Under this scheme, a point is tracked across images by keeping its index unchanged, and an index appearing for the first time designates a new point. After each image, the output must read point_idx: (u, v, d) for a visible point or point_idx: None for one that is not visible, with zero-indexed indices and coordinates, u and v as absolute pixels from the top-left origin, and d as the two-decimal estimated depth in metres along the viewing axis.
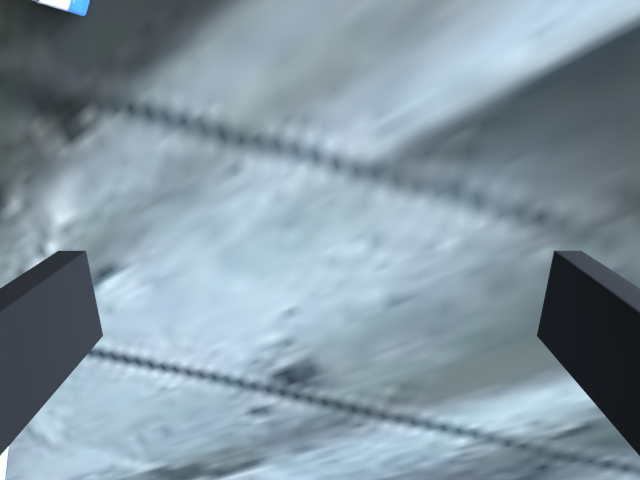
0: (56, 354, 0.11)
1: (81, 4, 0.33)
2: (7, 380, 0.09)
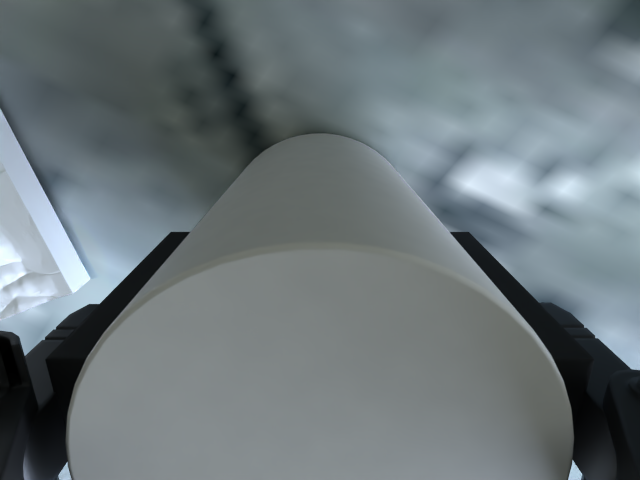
0: None
1: None
2: None
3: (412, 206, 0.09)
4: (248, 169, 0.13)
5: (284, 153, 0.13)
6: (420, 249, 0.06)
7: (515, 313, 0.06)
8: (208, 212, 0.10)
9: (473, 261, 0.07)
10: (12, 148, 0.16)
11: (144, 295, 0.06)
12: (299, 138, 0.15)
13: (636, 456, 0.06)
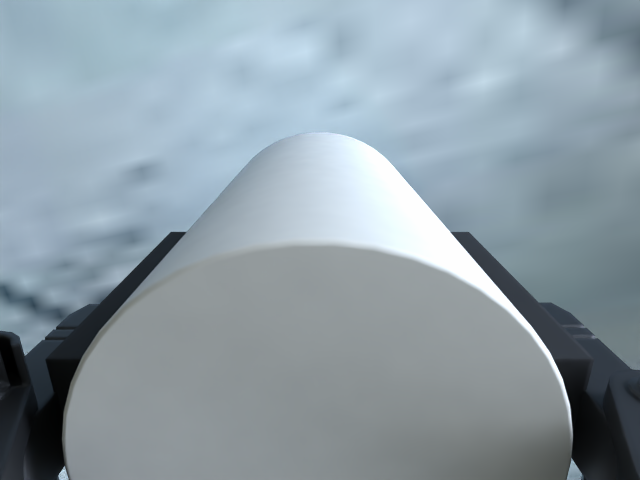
0: None
1: None
2: None
3: (410, 204, 0.08)
4: (247, 168, 0.13)
5: (283, 151, 0.13)
6: (418, 246, 0.06)
7: (513, 310, 0.06)
8: (206, 210, 0.10)
9: (471, 259, 0.07)
10: None
11: (140, 292, 0.06)
12: (298, 137, 0.15)
13: (636, 456, 0.06)
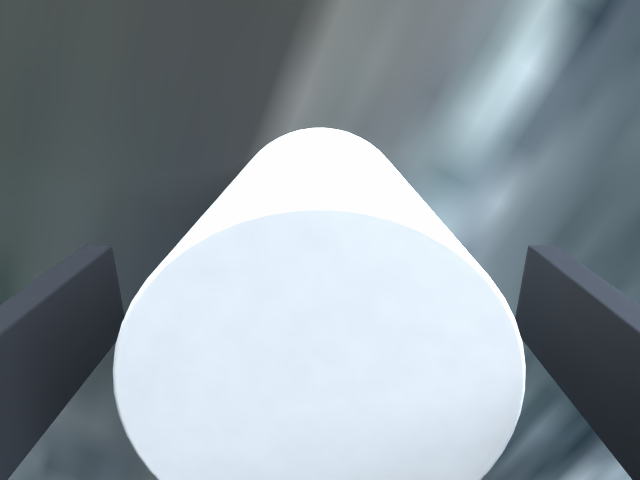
0: (86, 344, 0.11)
1: None
2: (44, 368, 0.09)
3: (398, 185, 0.10)
4: (255, 159, 0.15)
5: (287, 144, 0.14)
6: (399, 212, 0.07)
7: (474, 262, 0.07)
8: (222, 193, 0.11)
9: (447, 229, 0.09)
10: None
11: (180, 248, 0.07)
12: (301, 132, 0.17)
13: None
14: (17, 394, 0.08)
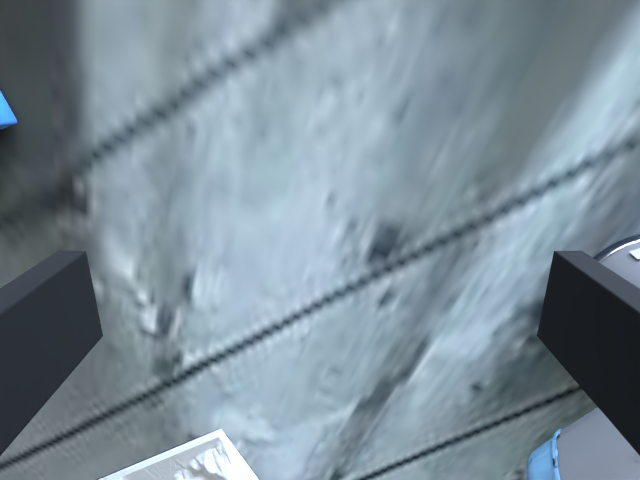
0: (56, 354, 0.10)
1: (6, 114, 0.41)
2: (7, 380, 0.09)
3: None
4: None
5: None
6: None
7: None
8: None
9: None
10: (181, 447, 0.56)
11: None
12: None
13: None
14: None
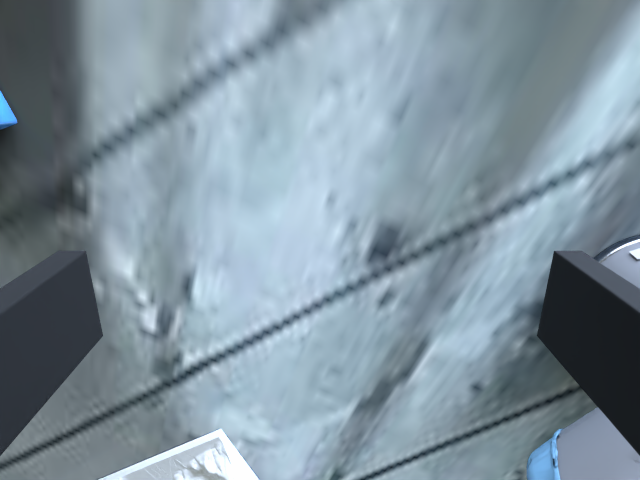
0: (56, 354, 0.10)
1: (6, 114, 0.41)
2: (7, 380, 0.09)
3: None
4: None
5: None
6: None
7: None
8: None
9: None
10: (181, 447, 0.56)
11: None
12: None
13: None
14: None
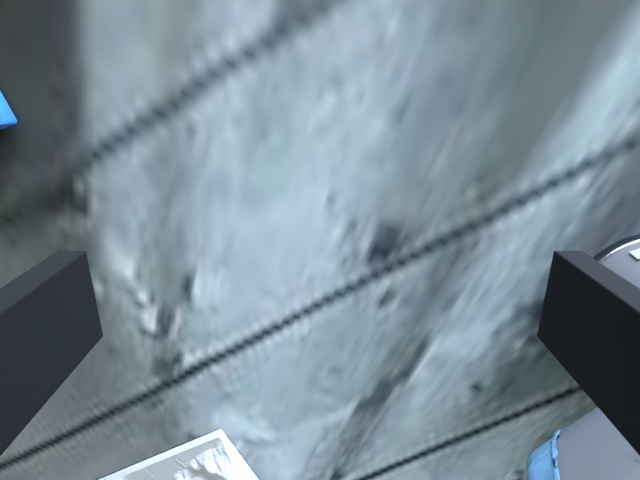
0: (56, 354, 0.10)
1: (6, 114, 0.41)
2: (7, 380, 0.09)
3: None
4: None
5: None
6: None
7: None
8: None
9: None
10: (181, 447, 0.56)
11: None
12: None
13: None
14: None
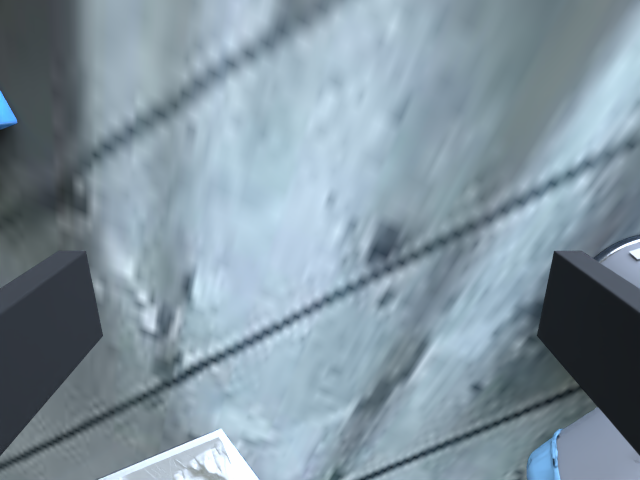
0: (56, 354, 0.10)
1: (6, 114, 0.41)
2: (7, 380, 0.09)
3: None
4: None
5: None
6: None
7: None
8: None
9: None
10: (181, 447, 0.56)
11: None
12: None
13: None
14: None
